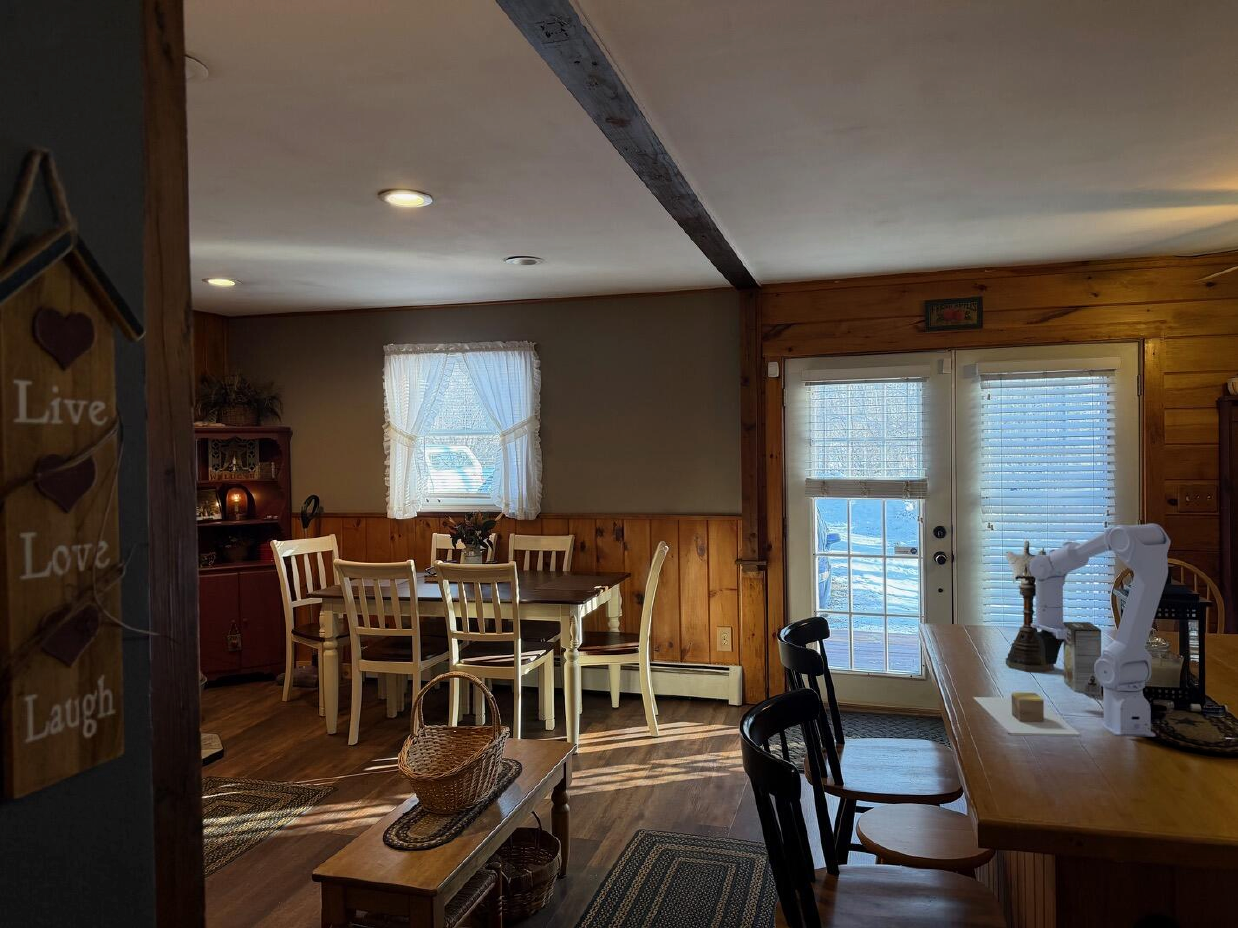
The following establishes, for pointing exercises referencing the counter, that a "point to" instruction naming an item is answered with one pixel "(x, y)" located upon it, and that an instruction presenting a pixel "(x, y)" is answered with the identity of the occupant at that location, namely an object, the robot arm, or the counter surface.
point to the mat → (1003, 715)
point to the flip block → (1027, 707)
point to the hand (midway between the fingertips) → (1050, 663)
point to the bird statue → (1026, 617)
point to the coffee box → (1082, 657)
